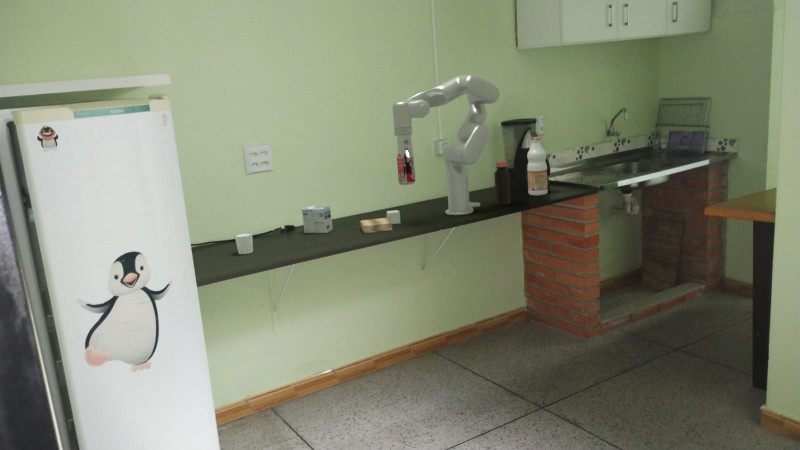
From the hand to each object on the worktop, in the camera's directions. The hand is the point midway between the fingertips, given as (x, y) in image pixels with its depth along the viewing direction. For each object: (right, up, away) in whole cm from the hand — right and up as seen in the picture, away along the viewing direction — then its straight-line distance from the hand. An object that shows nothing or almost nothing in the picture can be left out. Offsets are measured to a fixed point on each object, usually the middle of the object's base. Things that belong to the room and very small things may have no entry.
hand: (406, 173), depth 290 cm
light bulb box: (-38, -25, +5) cm, 45 cm away
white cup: (-63, -33, -21) cm, 74 cm away
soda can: (0, -4, +1) cm, 4 cm away
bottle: (+46, -12, +30) cm, 56 cm away
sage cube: (-5, -21, +10) cm, 24 cm away
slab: (-13, -23, +1) cm, 26 cm away
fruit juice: (+66, -6, +48) cm, 81 cm away
